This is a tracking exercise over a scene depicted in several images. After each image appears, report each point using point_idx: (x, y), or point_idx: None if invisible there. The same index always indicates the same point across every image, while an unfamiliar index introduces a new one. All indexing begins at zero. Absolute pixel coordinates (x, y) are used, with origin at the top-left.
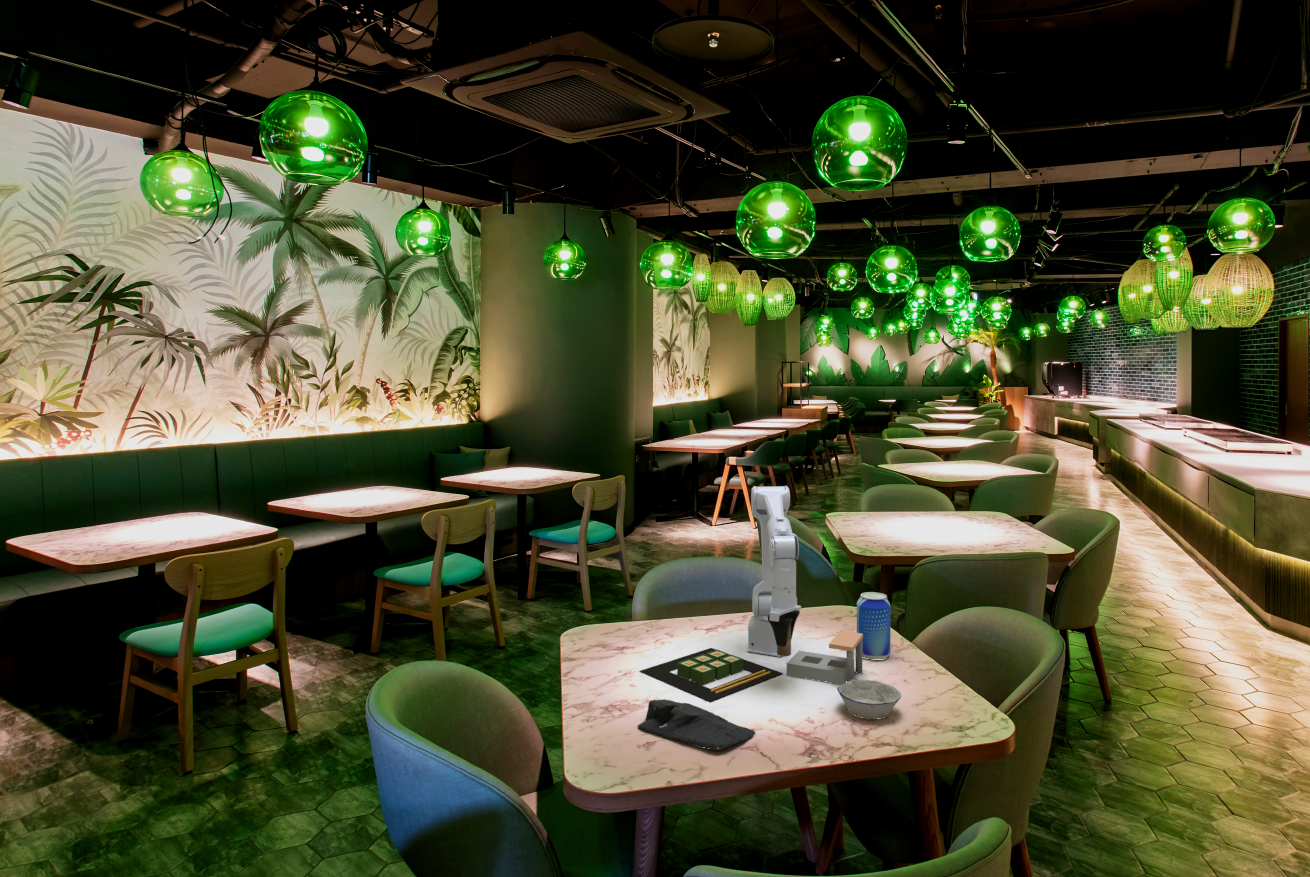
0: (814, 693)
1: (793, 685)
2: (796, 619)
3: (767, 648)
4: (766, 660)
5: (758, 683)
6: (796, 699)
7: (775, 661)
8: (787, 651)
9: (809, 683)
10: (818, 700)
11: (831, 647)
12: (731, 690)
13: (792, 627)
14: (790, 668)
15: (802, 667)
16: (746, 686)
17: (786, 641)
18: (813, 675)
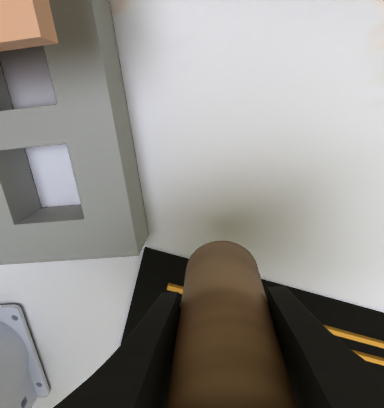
0: (255, 82)
1: (221, 180)
2: (58, 406)
3: (18, 358)
4: (72, 328)
5: (267, 281)
6: (343, 120)
7: (61, 304)
8: (248, 260)
9: (172, 138)
10: (317, 38)
11: (51, 19)
12: (365, 323)
13: (153, 357)
14: (140, 232)
15: (128, 191)
16: (314, 300)
17: (292, 299)
18: (127, 140)
